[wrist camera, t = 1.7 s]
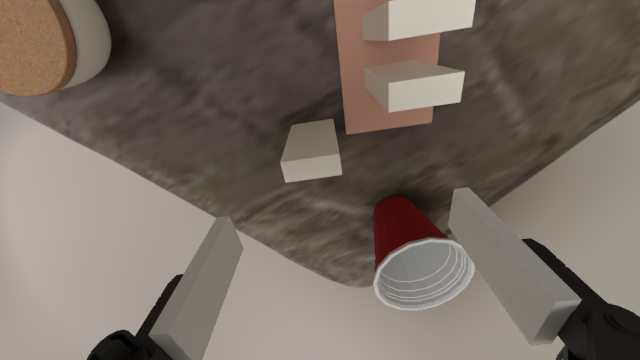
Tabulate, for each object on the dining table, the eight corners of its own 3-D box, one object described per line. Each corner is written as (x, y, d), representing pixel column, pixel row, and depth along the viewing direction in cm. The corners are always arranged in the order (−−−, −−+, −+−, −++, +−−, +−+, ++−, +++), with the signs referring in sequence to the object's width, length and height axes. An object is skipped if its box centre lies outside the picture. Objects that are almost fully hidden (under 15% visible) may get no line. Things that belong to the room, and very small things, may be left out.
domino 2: (361, 15, 22) (388, 1, 14) (415, 6, 22) (478, -15, 13) (362, 39, 23) (388, 40, 15) (414, 31, 23) (471, 26, 14)
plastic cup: (446, 207, 35) (500, 278, 24) (390, 247, 39) (416, 322, 29) (398, 164, 31) (438, 226, 21) (342, 213, 35) (352, 285, 25)
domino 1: (291, 125, 28) (280, 162, 20) (333, 118, 28) (339, 153, 19) (295, 140, 29) (285, 182, 21) (335, 134, 29) (342, 174, 20)
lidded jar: (139, 95, 26) (60, 119, 18) (29, 63, 25) (-110, 74, 17) (130, -24, 21) (15, -62, 13) (-9, -74, 20) (-239, -154, 12)
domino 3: (364, 67, 25) (388, 83, 16) (413, 59, 24) (465, 71, 16) (365, 87, 26) (388, 112, 17) (412, 80, 25) (460, 102, 17)
